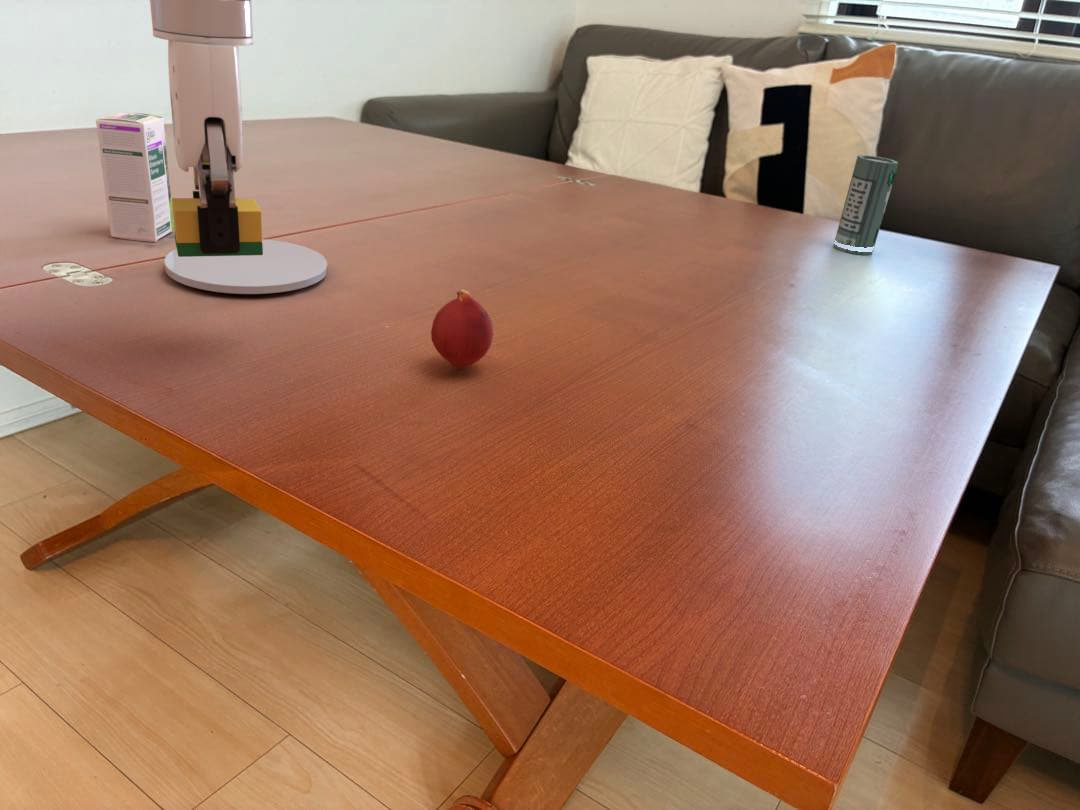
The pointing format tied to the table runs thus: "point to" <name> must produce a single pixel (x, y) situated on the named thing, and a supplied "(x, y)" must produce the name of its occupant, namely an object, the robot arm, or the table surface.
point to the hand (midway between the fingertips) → (217, 241)
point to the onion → (462, 331)
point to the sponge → (189, 228)
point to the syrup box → (135, 176)
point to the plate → (250, 270)
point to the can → (866, 202)
